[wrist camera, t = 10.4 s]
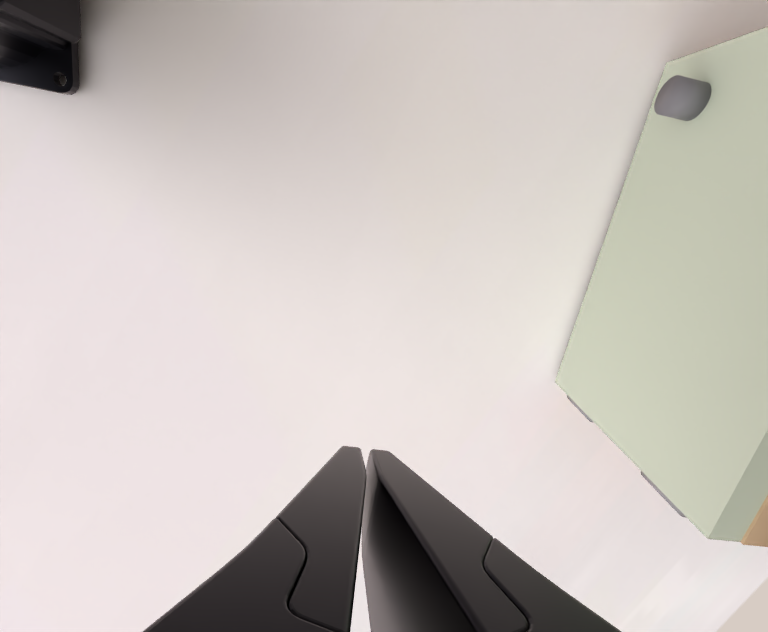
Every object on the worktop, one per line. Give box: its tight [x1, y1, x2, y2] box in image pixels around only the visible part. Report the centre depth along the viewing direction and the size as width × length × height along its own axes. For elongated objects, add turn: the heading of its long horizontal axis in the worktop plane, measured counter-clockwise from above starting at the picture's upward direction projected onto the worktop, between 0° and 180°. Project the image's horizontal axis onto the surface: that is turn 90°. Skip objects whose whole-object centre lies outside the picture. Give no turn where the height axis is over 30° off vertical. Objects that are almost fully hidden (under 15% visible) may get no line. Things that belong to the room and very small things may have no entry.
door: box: [555, 27, 768, 542], centre depth 16 cm, size 2×16×11 cm, turn 169°
